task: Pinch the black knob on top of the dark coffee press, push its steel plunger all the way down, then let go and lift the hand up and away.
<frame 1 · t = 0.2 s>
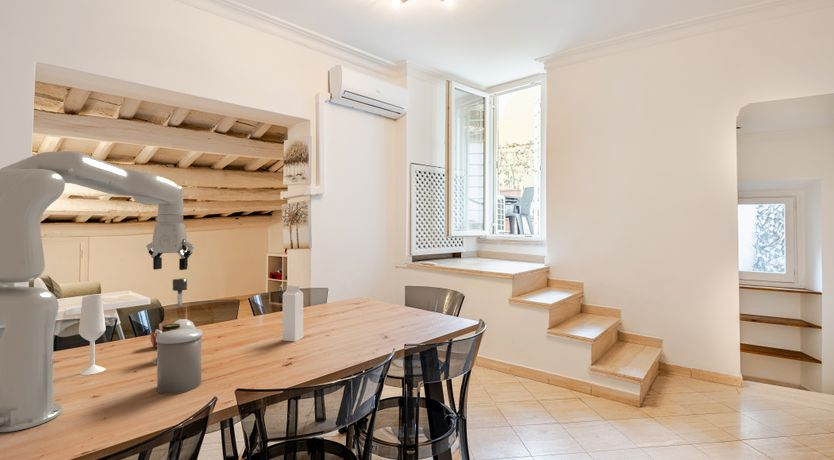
hand: (170, 269, 139), 31 cm above the table, tool pointing down, fingers open, 9 cm apart
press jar: (179, 386, 116), on the table
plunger: (179, 292, 116), point 27 cm above the table, slide at 8.0 cm
potion bottle: (174, 345, 156), on the table
milk: (292, 339, 165), on the table
champagne flute: (92, 371, 127), on the table
condiment: (168, 360, 139), on the table
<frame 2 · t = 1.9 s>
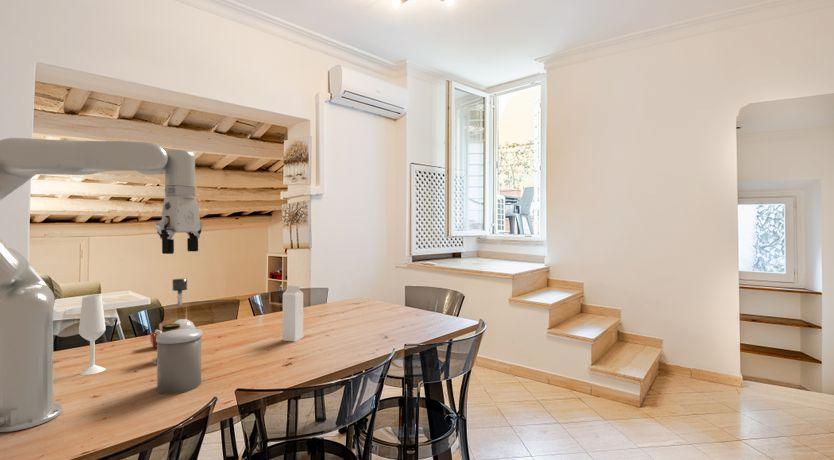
hand: (180, 252, 116), 39 cm above the table, tool pointing down, fingers open, 9 cm apart
nothing on the table moved.
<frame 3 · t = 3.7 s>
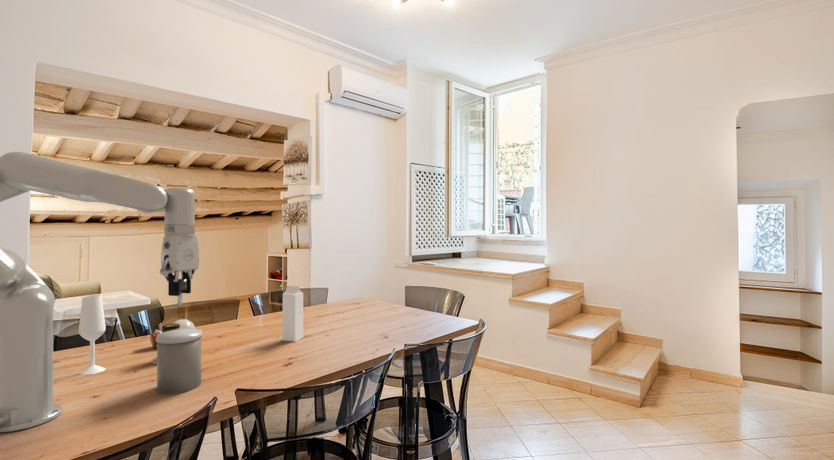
hand: (179, 293, 116), 27 cm above the table, tool pointing down, fingers closed on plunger, 3 cm apart
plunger: (179, 292, 116), point 27 cm above the table, slide at 8.0 cm, touching gripper
everything else where it was.
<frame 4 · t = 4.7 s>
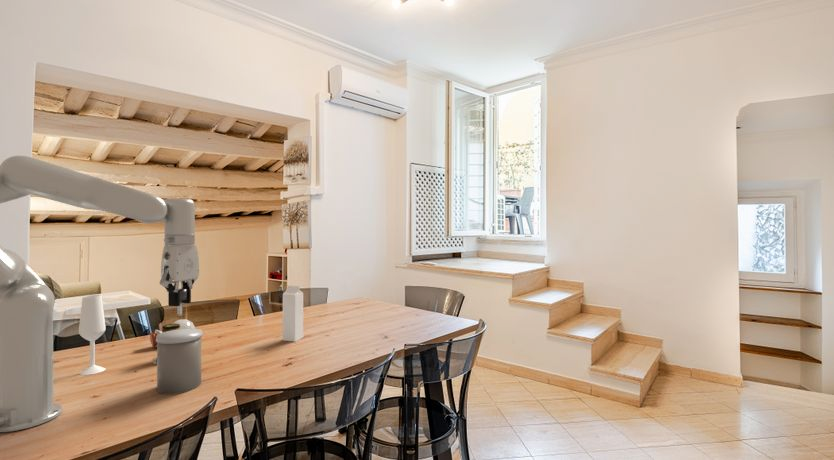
hand: (179, 303, 116), 24 cm above the table, tool pointing down, fingers closed on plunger, 3 cm apart
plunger: (179, 302, 116), point 24 cm above the table, slide at 5.1 cm, touching gripper
everything else where it was.
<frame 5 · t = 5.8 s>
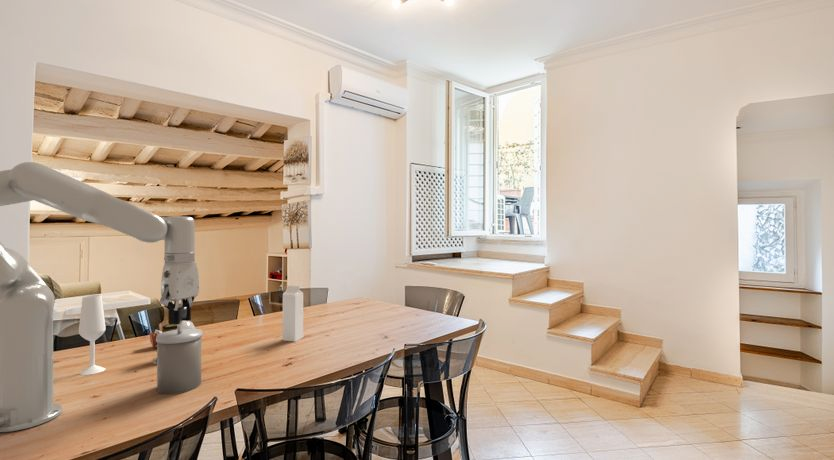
hand: (179, 321, 116), 19 cm above the table, tool pointing down, fingers closed on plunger, 3 cm apart
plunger: (179, 320, 116), point 19 cm above the table, slide at -0.1 cm, touching gripper
everything else where it was.
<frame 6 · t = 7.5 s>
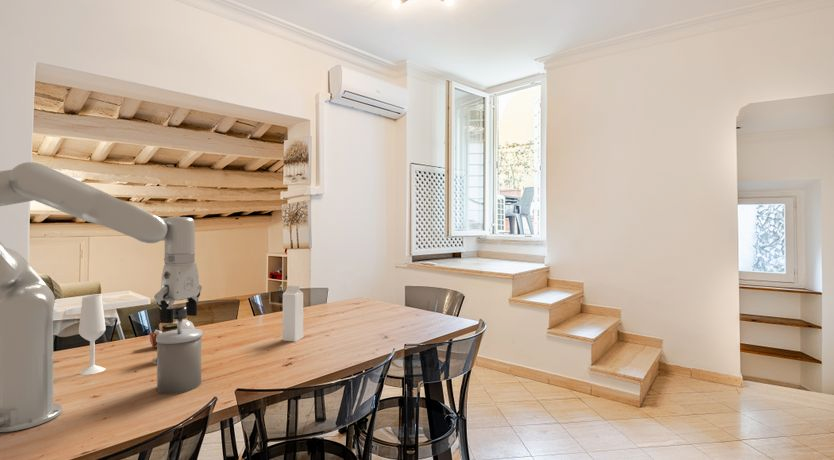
hand: (179, 318, 116), 20 cm above the table, tool pointing down, fingers open, 9 cm apart
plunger: (179, 320, 116), point 19 cm above the table, slide at -0.1 cm
everything else where it was.
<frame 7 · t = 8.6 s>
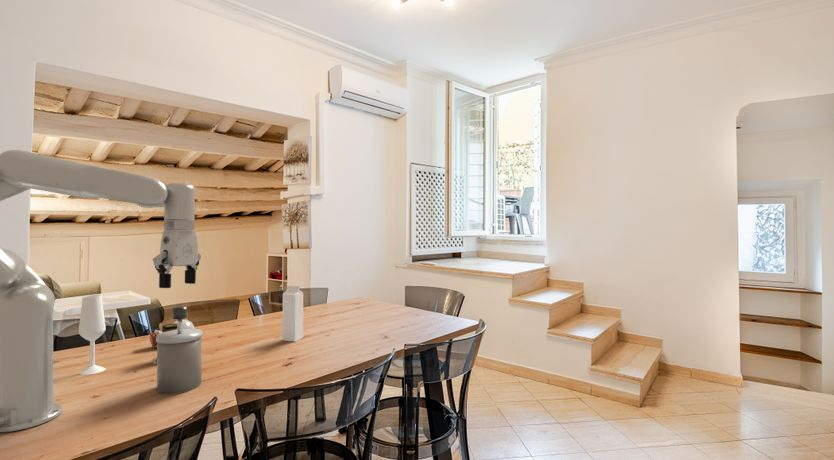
hand: (178, 285, 115), 29 cm above the table, tool pointing down, fingers open, 9 cm apart
nothing on the table moved.
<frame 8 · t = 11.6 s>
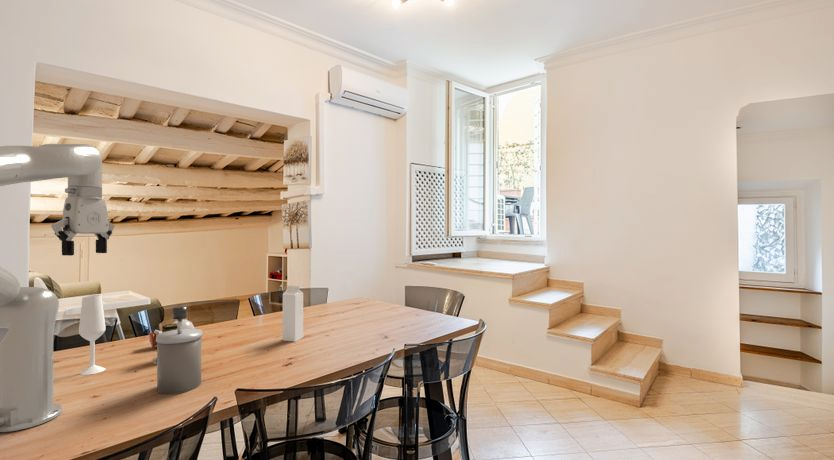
hand: (85, 254, 113), 38 cm above the table, tool pointing down, fingers open, 9 cm apart
nothing on the table moved.
at the end: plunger slide at -0.1 cm; champagne flute moved 0.2 cm from its start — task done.
